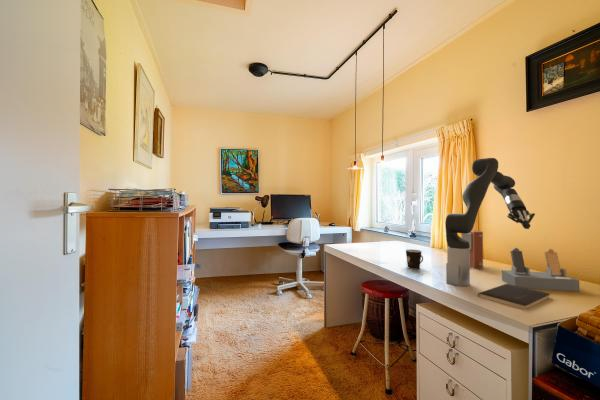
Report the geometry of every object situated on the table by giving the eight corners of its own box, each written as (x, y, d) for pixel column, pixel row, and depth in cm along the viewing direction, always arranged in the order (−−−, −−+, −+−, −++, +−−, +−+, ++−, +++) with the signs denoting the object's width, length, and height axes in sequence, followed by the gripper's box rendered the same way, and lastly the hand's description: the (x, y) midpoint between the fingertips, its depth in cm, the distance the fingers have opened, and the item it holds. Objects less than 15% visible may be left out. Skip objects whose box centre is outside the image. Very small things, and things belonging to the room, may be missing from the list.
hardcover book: (550, 299, 110) (550, 293, 110) (525, 311, 98) (525, 305, 98) (504, 288, 124) (504, 283, 124) (477, 297, 112) (477, 292, 112)
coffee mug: (404, 265, 166) (404, 249, 166) (419, 266, 164) (419, 249, 164) (408, 270, 154) (408, 252, 154) (424, 271, 152) (424, 253, 152)
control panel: (470, 263, 171) (485, 269, 156) (458, 263, 171) (473, 269, 156) (469, 229, 171) (485, 231, 156) (458, 229, 171) (473, 231, 156)
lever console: (515, 287, 123) (514, 269, 123) (501, 280, 134) (501, 263, 134) (579, 291, 117) (579, 272, 117) (560, 283, 129) (559, 266, 129)
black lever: (516, 272, 127) (511, 247, 131) (513, 272, 129) (509, 248, 133) (526, 272, 126) (521, 247, 130) (523, 273, 128) (518, 248, 132)
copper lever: (552, 273, 124) (546, 248, 128) (548, 274, 126) (543, 249, 130) (562, 274, 123) (556, 248, 127) (559, 274, 125) (553, 249, 129)
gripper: (503, 199, 153) (515, 223, 142) (531, 199, 150) (545, 223, 139) (499, 208, 159) (510, 232, 147) (525, 208, 156) (539, 232, 144)
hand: (527, 227), depth 143 cm, fingers closed
